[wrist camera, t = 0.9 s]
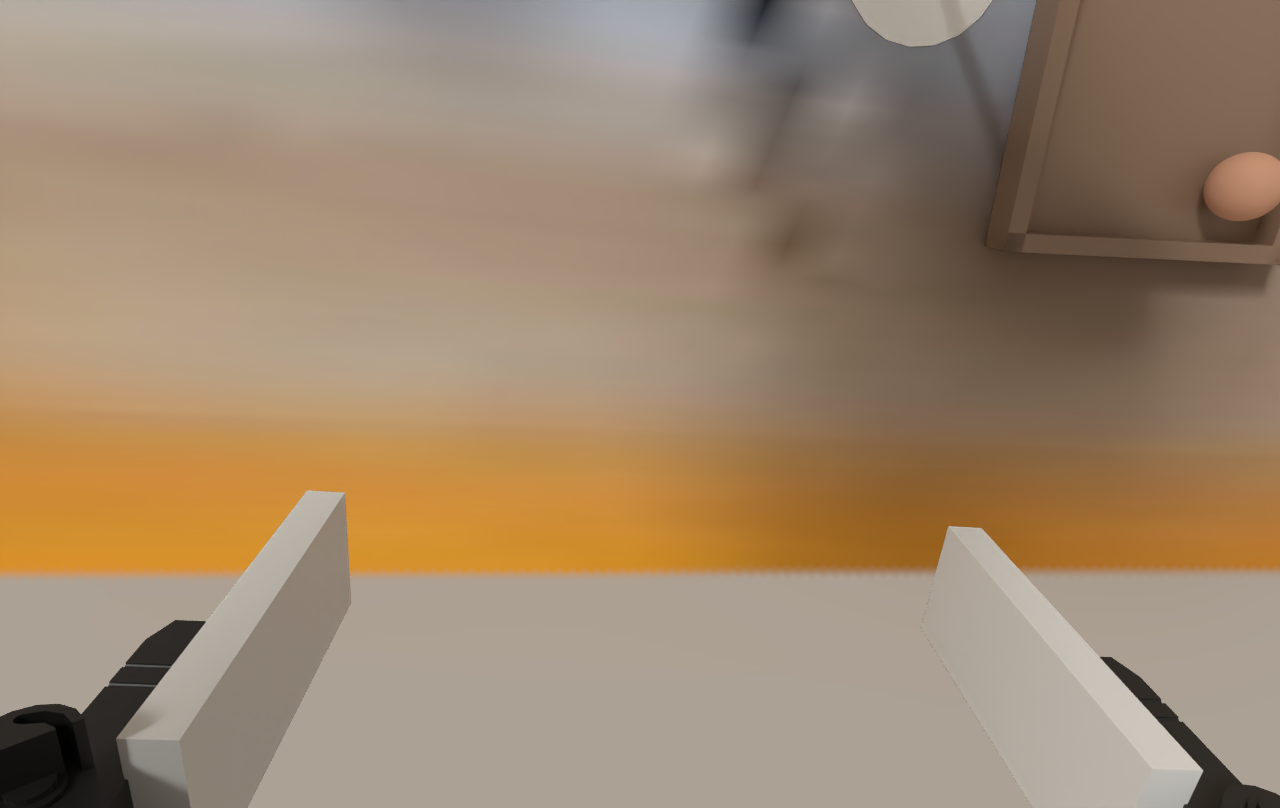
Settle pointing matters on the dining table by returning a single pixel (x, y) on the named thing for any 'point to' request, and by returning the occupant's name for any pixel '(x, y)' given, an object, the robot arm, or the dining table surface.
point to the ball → (1243, 186)
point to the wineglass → (920, 19)
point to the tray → (1139, 129)
